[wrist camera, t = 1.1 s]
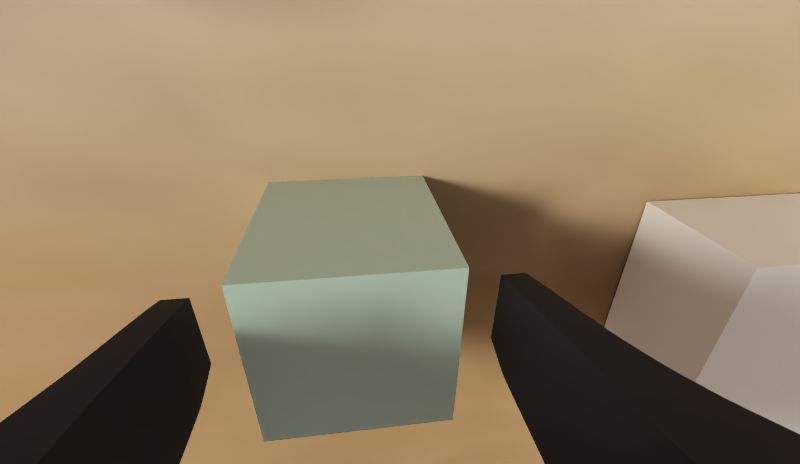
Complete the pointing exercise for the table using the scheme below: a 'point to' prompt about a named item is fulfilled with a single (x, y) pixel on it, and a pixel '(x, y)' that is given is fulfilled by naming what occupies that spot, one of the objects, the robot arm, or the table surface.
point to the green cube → (348, 306)
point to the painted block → (719, 297)
